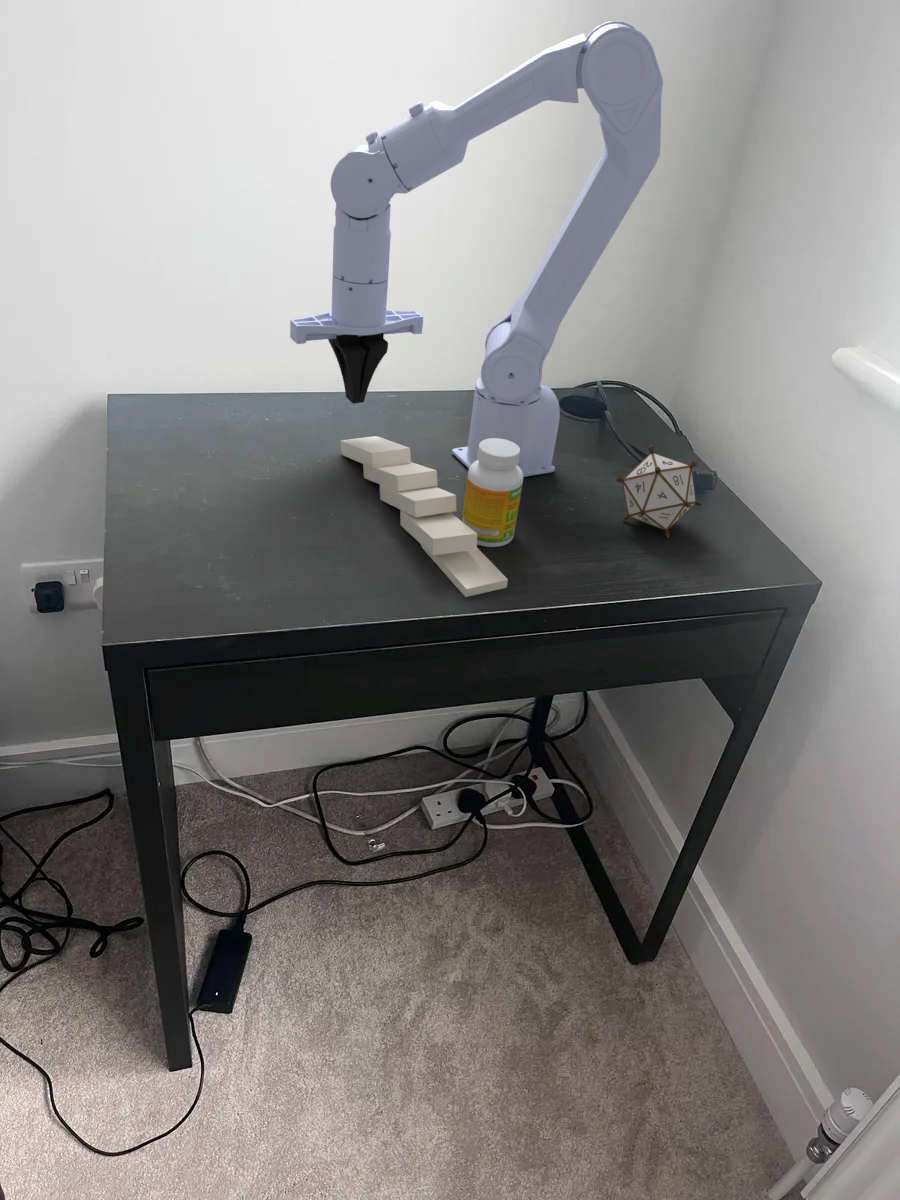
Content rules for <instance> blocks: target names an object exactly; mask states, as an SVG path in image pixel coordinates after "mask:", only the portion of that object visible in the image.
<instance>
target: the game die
mask: <svg viewBox="0 0 900 1200" xmlns="http://www.w3.org/2000/svg"><path fill="white" fill-rule="evenodd" d="M647 449H648V451H649V454H648V455H647V456H646V457H645V458H644V459H642V461H641V462H639V463H638V464H637V465H636V466H635V467H634V468H633V469H632V470H631V471H630V472H629V473H628V474H627V475H626V476H625V477H623V478H622V477H620V476H617V477H614V479H615V480H616V482H617V483H618V482H619V483H622V489H623V494H624V499H625V504H626V510H627V514H625V515H624V516H623V517H622V519H621V520H622V522H625V521H628V520H629V519H630V518H631V519H635V520H636V521H640V522H643V523H644V524H647V525H649V526H653V527H655V528H657V529H661V530H663V531H664V537H666V538H667V539H669V538H670V535H671V532H670V531H669V529H671V528H672V527H673V526H674V525H675V524H676V523H677V522H678V521H679V520H680V519H681V518H682V517H683V516H685V515H686V513H688V511H690V510H691V508H693V506H695V505H696V506H698V507H701V506H704V504H703V501H702V500H697V498H696V489H695V481H694V474H693V468H695V467H696V466H697V465H698V462H699V460H692V462H691V463H690V464H689V463H685V462H683V461H679V460H678V459H673V458H671V457H668V456H665V455H662V454H659V453H655V452H654V450H655V449H654V446H653V445H652V444H649V446H648V448H647Z"/></svg>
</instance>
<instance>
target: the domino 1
mask: <svg viewBox="0 0 900 1200" xmlns="http://www.w3.org/2000/svg"><path fill="white" fill-rule="evenodd" d="M340 450H341V451H340V452H341V456H343V457H346V458H347V459H348V458H349V459H350V460H353V461H355V462H358V463H360V464H362V465H363V464H364V465H366V466H369V467H371V468H379V467H386V466H393V465H401V464H408V463H411V462H412V460H411V459H412V458H411V457H412V456H411V447H409V446H405V445H404V444H403V445H402V444H399V443H397V442H394V441H391V440H389V439H386V438H384V437H381V436H378V435H375V436H374V435H373V436H365V437H358V438H350V439H341V440H340Z"/></svg>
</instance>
